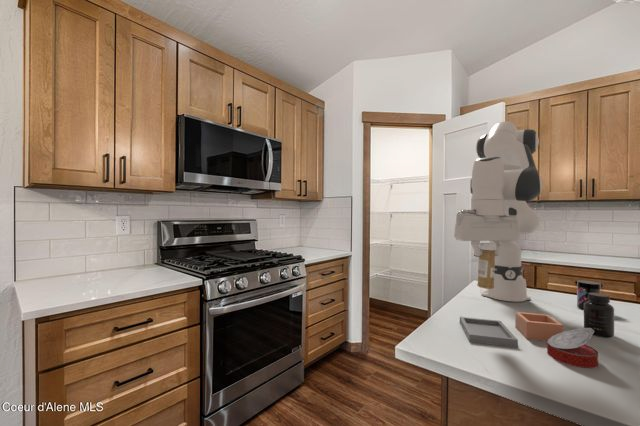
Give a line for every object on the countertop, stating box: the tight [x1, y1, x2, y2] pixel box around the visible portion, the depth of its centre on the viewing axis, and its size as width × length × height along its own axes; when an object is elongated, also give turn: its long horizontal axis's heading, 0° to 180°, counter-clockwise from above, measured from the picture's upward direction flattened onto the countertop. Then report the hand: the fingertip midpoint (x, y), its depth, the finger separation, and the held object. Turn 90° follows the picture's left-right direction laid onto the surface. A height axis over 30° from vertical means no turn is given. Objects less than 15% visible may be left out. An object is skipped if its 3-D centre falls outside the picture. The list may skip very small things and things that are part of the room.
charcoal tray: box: [459, 316, 519, 348], centre depth 89 cm, size 15×12×2 cm
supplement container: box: [576, 279, 602, 311], centre depth 114 cm, size 7×7×10 cm
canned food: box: [546, 327, 599, 369], centre depth 74 cm, size 11×10×10 cm
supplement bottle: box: [583, 292, 615, 339], centre depth 90 cm, size 7×7×12 cm
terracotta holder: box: [514, 311, 564, 342], centre depth 89 cm, size 9×9×5 cm
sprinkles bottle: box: [476, 241, 496, 289], centre depth 89 cm, size 5×5×14 cm
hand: (486, 255), depth 89 cm, fingers closed on sprinkles bottle, 4 cm apart
